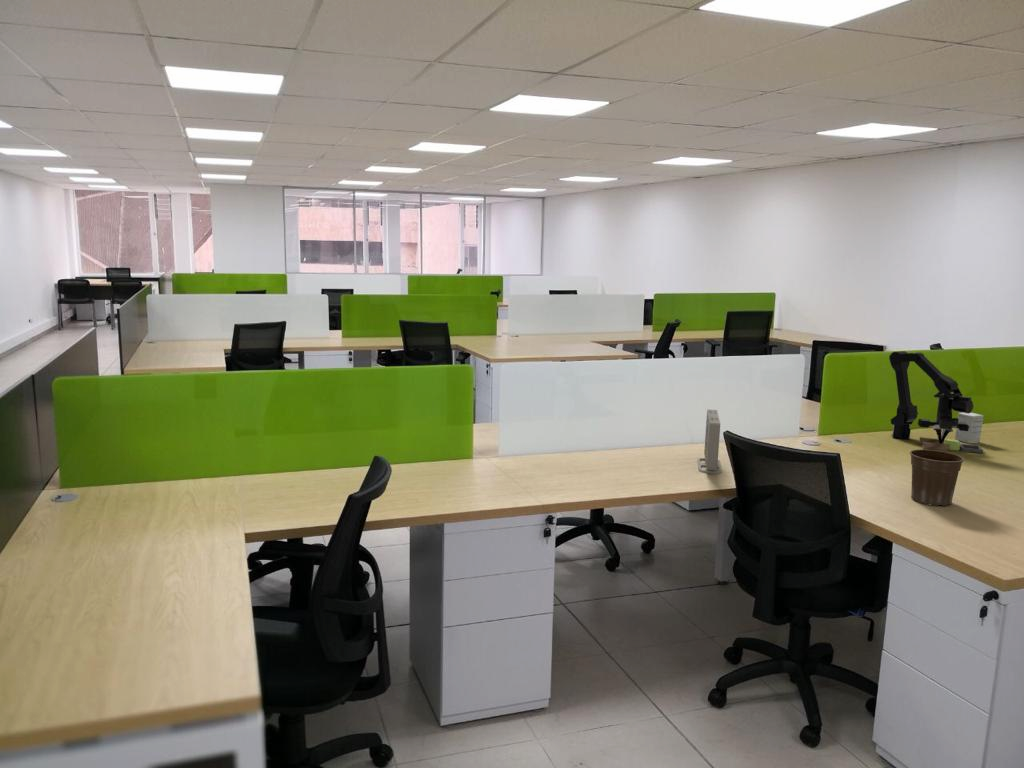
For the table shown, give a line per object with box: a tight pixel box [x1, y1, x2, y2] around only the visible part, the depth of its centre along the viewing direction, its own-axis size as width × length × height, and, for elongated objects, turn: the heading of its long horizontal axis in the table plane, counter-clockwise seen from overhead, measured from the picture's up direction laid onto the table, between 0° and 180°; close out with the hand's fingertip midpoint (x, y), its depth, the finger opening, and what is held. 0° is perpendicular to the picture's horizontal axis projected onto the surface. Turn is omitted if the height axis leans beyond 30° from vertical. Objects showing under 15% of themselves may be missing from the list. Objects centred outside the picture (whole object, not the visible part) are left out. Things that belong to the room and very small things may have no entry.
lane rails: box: [918, 436, 950, 452], centre depth 339 cm, size 10×11×2 cm
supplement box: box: [954, 412, 984, 445], centre depth 349 cm, size 7×7×13 cm
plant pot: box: [909, 448, 965, 507], centre depth 264 cm, size 16×16×16 cm
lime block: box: [944, 438, 961, 451], centre depth 337 cm, size 5×5×4 cm
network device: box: [696, 409, 723, 474], centre depth 300 cm, size 26×9×20 cm, turn 168°
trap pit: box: [959, 443, 984, 454], centre depth 334 cm, size 8×8×2 cm
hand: (940, 444), depth 338 cm, fingers closed
